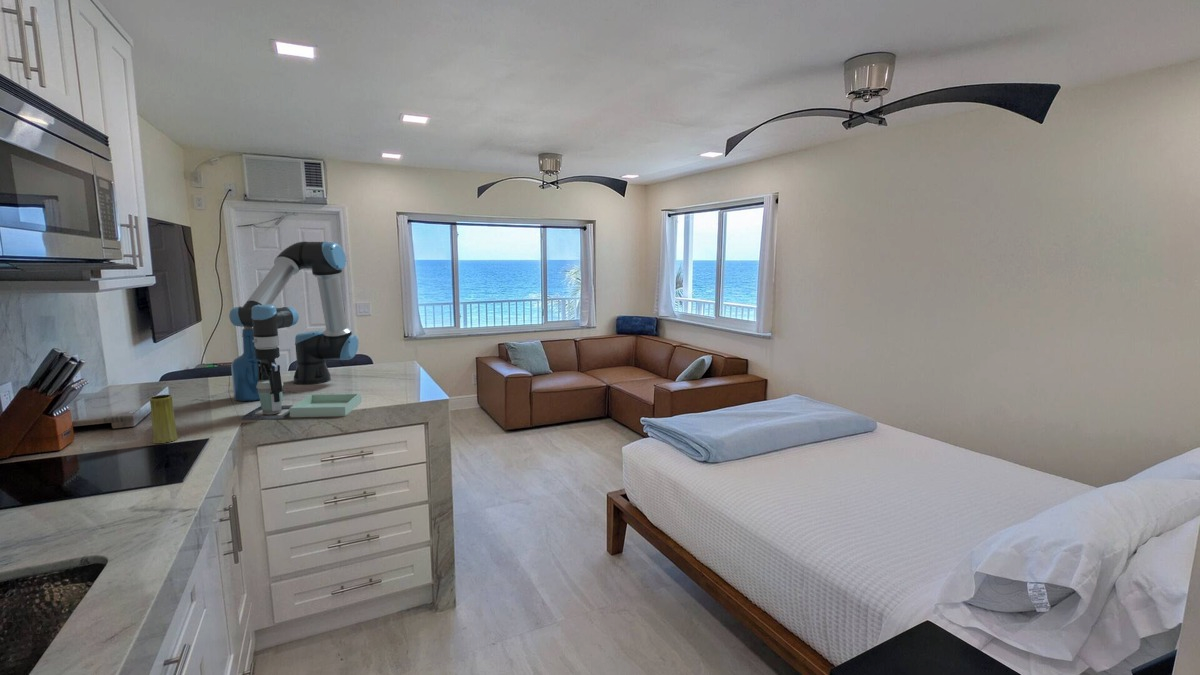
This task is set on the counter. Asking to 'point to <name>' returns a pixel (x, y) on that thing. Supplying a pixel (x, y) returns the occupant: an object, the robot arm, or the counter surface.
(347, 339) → the robot arm
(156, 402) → the vase
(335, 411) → the bin
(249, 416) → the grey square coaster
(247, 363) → the wine bottle
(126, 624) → the counter surface
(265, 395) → the coffee cup
